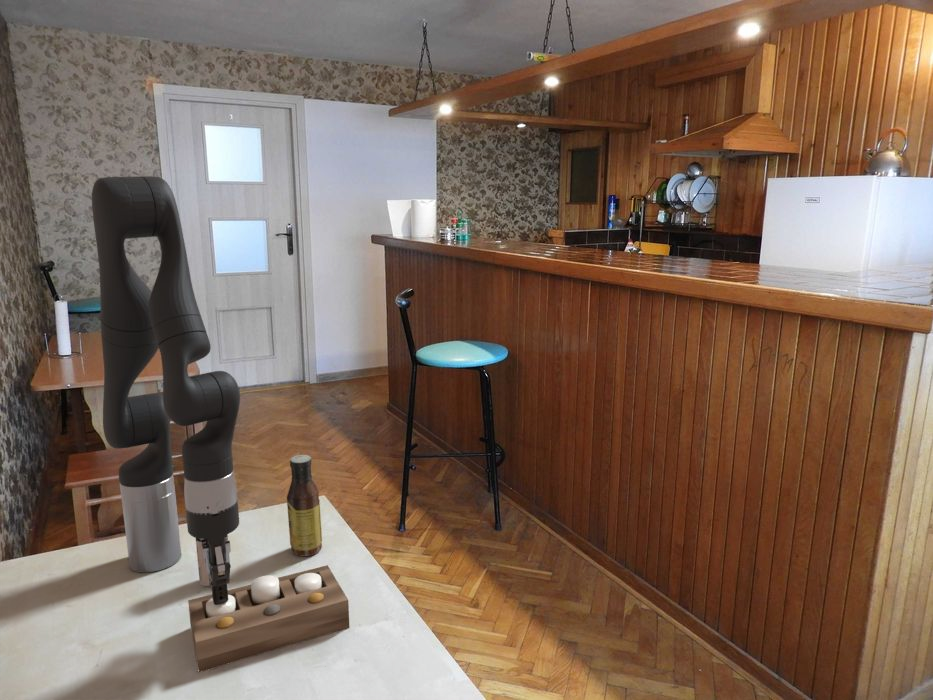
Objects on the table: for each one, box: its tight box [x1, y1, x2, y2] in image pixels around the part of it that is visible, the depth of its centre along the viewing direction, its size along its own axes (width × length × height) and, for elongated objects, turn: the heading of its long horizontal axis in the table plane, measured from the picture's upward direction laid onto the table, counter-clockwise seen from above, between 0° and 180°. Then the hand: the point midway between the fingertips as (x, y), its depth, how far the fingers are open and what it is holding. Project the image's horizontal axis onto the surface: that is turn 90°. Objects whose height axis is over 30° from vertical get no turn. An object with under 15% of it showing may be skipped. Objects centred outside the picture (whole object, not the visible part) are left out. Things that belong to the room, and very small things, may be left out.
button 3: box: [295, 573, 322, 595], centre depth 111 cm, size 4×4×3 cm
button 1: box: [206, 595, 236, 618], centre depth 105 cm, size 4×4×3 cm
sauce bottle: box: [286, 454, 323, 557], centre depth 129 cm, size 7×6×20 cm
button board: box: [187, 564, 350, 673], centre depth 106 cm, size 12×23×5 cm, turn 118°
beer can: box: [195, 538, 212, 588], centre depth 119 cm, size 5×5×12 cm
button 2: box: [250, 575, 280, 605], centre depth 108 cm, size 4×4×3 cm
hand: (220, 601), depth 104 cm, fingers closed
